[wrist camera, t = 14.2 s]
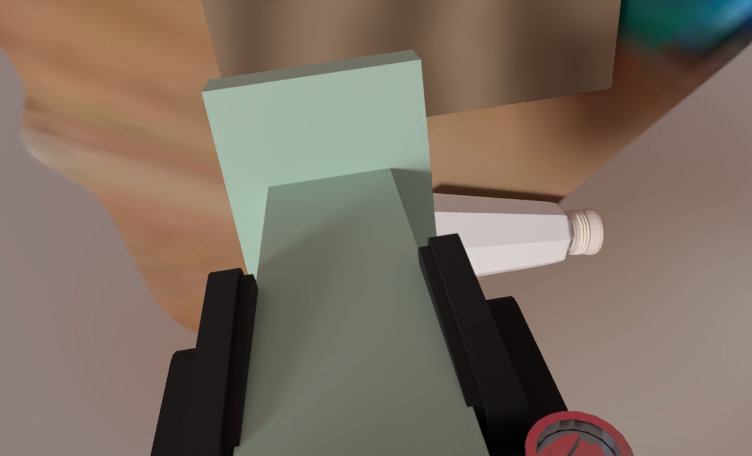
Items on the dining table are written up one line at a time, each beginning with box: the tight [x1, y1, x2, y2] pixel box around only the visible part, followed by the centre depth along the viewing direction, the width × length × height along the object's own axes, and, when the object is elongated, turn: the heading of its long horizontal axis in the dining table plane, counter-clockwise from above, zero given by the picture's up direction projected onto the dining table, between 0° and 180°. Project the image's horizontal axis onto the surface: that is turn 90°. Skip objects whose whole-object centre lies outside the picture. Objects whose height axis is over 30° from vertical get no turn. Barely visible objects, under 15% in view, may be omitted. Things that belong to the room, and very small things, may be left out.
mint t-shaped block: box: [202, 50, 489, 456], centre depth 12 cm, size 5×8×11 cm, turn 6°
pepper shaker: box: [433, 193, 604, 277], centre depth 36 cm, size 5×5×11 cm
